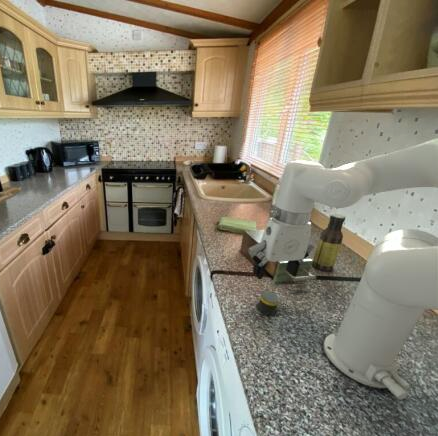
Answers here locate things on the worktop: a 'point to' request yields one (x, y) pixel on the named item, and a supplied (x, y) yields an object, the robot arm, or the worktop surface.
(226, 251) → the worktop surface
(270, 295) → the cap
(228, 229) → the washcloth
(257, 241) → the cabinet
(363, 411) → the worktop surface
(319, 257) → the sauce bottle
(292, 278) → the drawer
